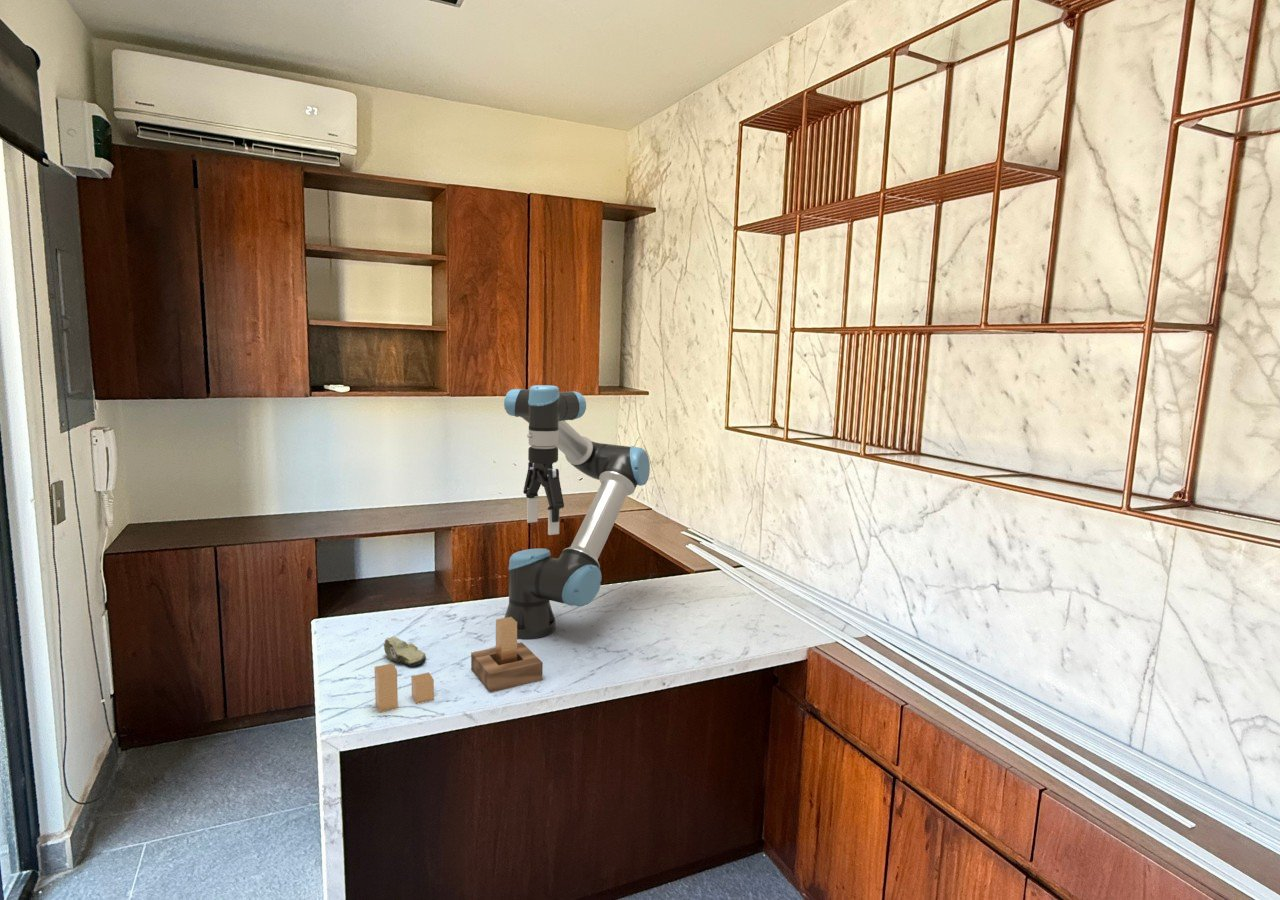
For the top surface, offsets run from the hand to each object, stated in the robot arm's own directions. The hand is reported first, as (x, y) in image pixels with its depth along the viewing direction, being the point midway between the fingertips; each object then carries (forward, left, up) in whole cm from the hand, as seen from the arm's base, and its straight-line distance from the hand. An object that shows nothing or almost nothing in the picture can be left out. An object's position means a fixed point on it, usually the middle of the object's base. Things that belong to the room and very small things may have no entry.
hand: (542, 528), depth 179 cm
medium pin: (+8, -41, -35) cm, 54 cm away
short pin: (+8, -33, -35) cm, 49 cm away
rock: (-14, -32, -35) cm, 50 cm away
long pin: (+6, -12, -35) cm, 37 cm away
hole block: (+6, -12, -35) cm, 37 cm away
